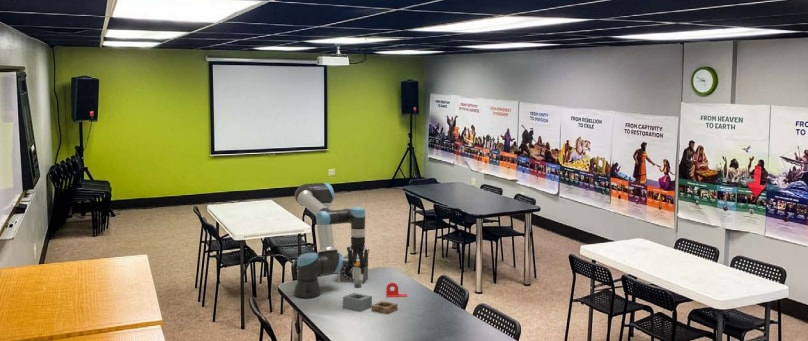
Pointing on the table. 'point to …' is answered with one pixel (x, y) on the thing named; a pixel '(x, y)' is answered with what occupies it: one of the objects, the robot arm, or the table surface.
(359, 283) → the pin
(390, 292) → the bracket
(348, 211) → the robot arm
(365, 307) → the block
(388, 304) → the frame
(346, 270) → the alarm clock
